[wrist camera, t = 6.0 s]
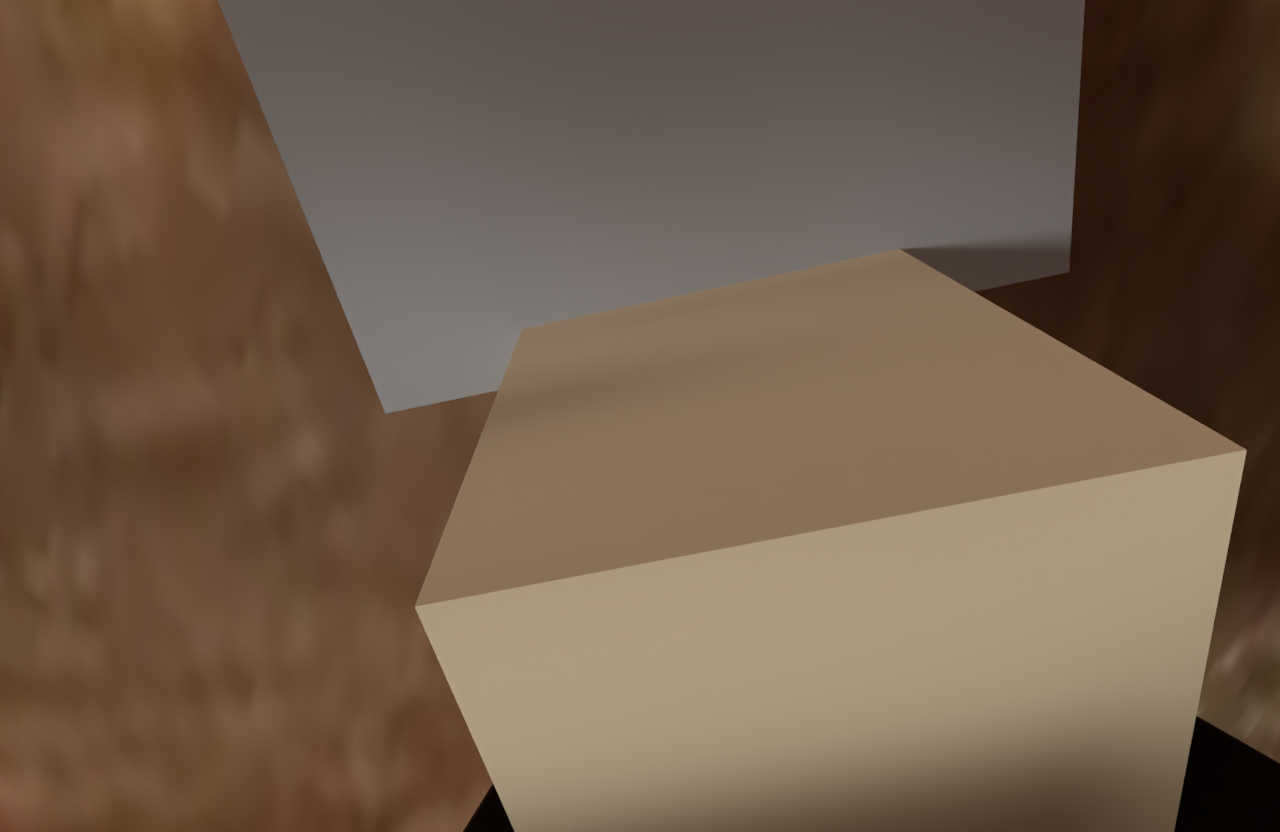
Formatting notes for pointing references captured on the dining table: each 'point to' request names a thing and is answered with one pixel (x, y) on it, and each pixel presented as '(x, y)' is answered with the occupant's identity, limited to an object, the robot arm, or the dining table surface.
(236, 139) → the dining table surface
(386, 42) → the two-tone stacked block
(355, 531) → the dining table surface
